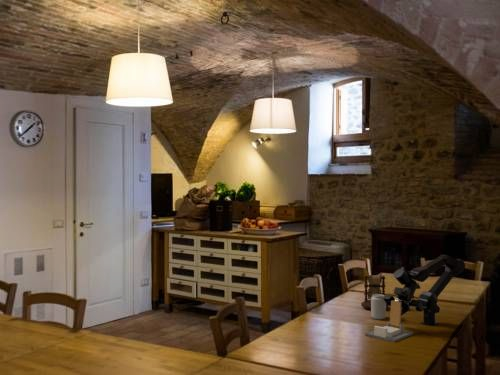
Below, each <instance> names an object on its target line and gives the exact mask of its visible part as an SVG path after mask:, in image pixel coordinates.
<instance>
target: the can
mask: <svg viewBox="0 0 500 375" xmlns="http://www.w3.org/2000/svg"><path fill="white" fill-rule="evenodd" d="M383 298H384V295H382V293H381V294H373V295H372V297H371V299H370V300H371V308H370V315H371V318H372V319H373V320H384V319H386V318H387V308H386V302H385V301H384V299H383Z"/></svg>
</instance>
